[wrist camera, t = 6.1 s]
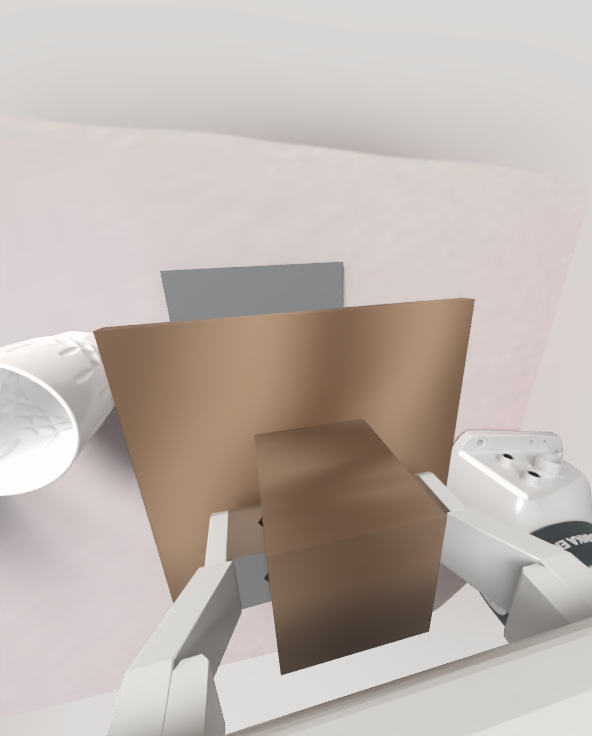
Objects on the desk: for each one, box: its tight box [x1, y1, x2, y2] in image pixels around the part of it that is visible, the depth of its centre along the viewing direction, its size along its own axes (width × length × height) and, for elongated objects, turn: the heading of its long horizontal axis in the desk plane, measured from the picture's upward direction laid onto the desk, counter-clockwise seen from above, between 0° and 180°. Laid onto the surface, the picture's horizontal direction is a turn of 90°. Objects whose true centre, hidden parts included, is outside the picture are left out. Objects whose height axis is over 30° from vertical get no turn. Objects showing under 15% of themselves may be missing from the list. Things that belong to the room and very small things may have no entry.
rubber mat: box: [160, 262, 343, 322], centre depth 26 cm, size 15×15×1 cm
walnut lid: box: [93, 298, 475, 675], centre depth 9 cm, size 12×12×5 cm
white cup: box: [0, 331, 115, 496], centre depth 19 cm, size 8×8×10 cm
